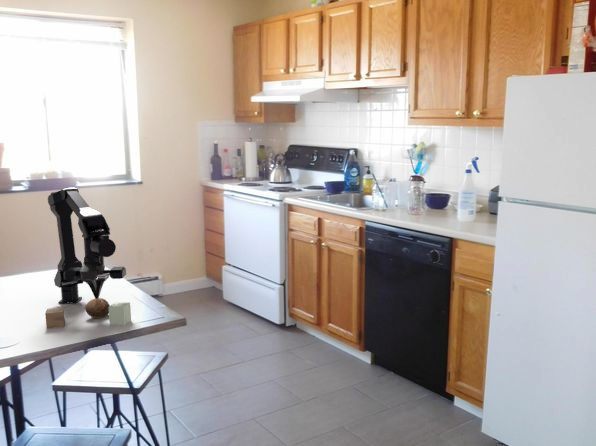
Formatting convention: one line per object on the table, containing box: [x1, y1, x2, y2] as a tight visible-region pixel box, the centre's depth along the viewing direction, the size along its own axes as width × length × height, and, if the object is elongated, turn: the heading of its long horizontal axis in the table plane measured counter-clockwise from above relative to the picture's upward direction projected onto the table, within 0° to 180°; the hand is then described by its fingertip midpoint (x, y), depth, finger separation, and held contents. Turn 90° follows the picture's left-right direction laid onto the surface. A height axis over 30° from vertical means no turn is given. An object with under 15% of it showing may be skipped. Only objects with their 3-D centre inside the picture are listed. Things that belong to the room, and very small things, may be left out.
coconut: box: [84, 297, 111, 319], centre depth 193 cm, size 8×8×6 cm
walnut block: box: [44, 306, 66, 329], centre depth 185 cm, size 5×5×5 cm
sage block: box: [108, 301, 132, 326], centre depth 187 cm, size 5×5×6 cm
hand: (97, 298), depth 193 cm, fingers closed
